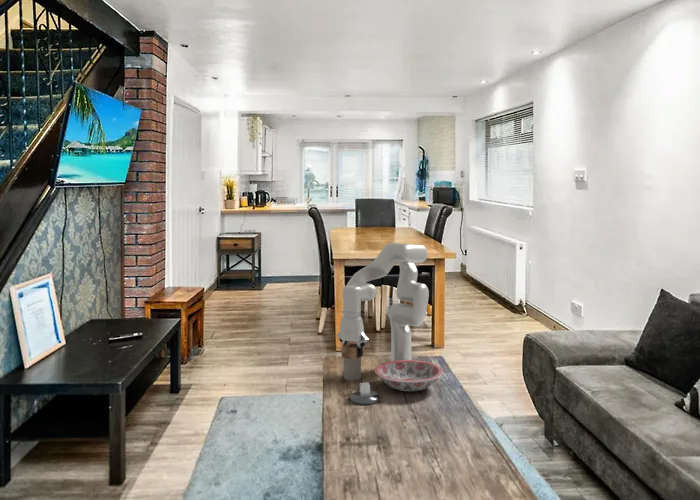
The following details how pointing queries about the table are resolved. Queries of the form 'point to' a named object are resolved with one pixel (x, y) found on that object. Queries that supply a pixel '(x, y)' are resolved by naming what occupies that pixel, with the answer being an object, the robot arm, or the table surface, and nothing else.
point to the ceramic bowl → (408, 374)
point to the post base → (365, 400)
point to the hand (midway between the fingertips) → (352, 354)
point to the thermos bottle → (352, 368)
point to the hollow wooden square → (350, 351)
